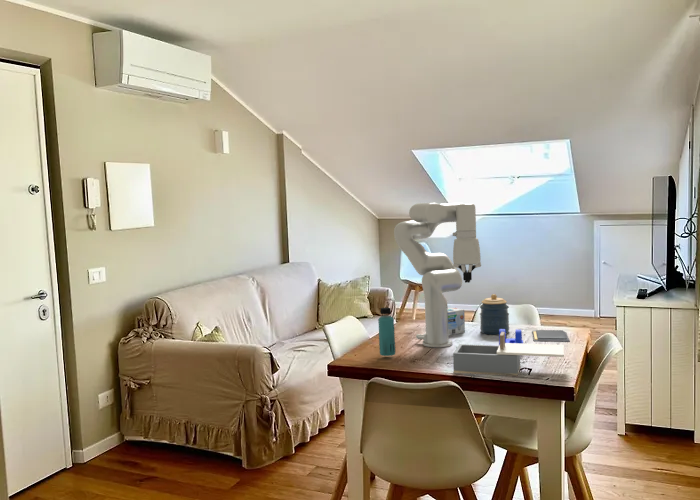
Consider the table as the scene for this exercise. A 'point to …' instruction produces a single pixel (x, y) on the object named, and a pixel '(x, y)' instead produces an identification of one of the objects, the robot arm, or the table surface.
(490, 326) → the canister
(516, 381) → the table surface
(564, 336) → the wallet
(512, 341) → the bracket
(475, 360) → the grey tray
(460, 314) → the light bulb box
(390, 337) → the beverage bottle
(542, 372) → the table surface
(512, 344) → the lid
